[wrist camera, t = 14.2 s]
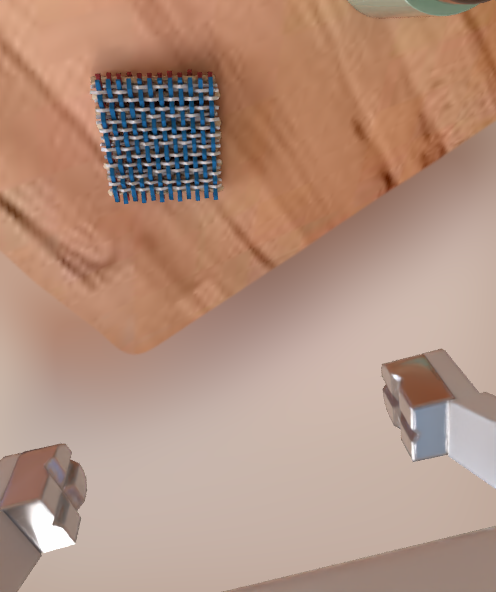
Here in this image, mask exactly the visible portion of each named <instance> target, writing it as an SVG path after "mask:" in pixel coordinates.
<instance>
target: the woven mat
mask: <svg viewBox="0 0 496 592" xmlns="http://www.w3.org/2000/svg"><path fill="white" fill-rule="evenodd" d="M106 75H107V77H101V75H100V74H95V76H96V77H91V84H92V85H91V89H92V88H96V89H97V91H90V94H92V100H94V101H95V102H98V104H99V107H96V108H95V111H96V119H101V121H96V124H97V127H98V129H99V131H100V132H101V133H103V137H101V140H104V142H105V143H101V146H106V148H101V151H106V153H107V155H106V156H104V158H105V159H108V162H109V163H104V168H105V169H107V170H109V171H107V172H108V173H110V174H107V179H108V181H112V183H109V186H112V189H110V190H109V191H108V193H109V195H110V196H112V195H114V198H115V202H120V196H119V194H123V198H124V204H128V201H129V200H130V199H129V194H132V197H133V201H138V195H137V194H141V195H142V203H146V200H147V197H146V193H151V199H152V201H154V200H156V196H155V194H159V195H160V202H164V199H165V196H164V194H167V193H169V199H170V200H174V199H173V192H178V201H182V192H186V193H187V199H191V191H195V195H196V201H199V200H200V194H199V191H204V195H205V198H209V192H213V197H214V200H218V192H219V191H223V188H224V187H223V185H222V183H221V184H217V181H222V179H221V178H217V177H219V174H221V171H218V169H220V165H222V160H221V159H218V158H216V155H220V154H221V153H220V151H219V152H217V151H218V147H219V148H220V147H221V144H215V142H219V139H221V131H215V129H220V125H221V123H222V122H221V120H220V119H219V117H218V118H214V116H215V115H217V114H218V113H217V112H216V109H219V106H216V104H214V100H218V99H219V98H220V92H218V91H219V89H218V88H213V87H217V84H214V83H215V75H212V72H208V75H202V72H198V75H196V76H192V70H187V76H182V73H177V75H178V76H172V71H167V76H162V73H157V76H152V74H151V73H147V76H142V74H141V73H137V76H135V77H132V73H131V72H127V76H128V77H121V73H119V74H116V76H117V77H111V73H106ZM193 87H198V89H195V88H193ZM203 87H208V88H207V89H203ZM103 88H106V90H103ZM157 88H158V91H159V92H157V91H156V89H157ZM163 88H165V89H166V90H167V91H165V92H164V89H163ZM113 89H117V90H118V91H117V90H113ZM123 89H127V90H123ZM184 100H186V101H189V105H186V106H184ZM194 100H199V105H194ZM204 100H209V104H204ZM137 101H139V103H140V106H135V102H137ZM145 101H148V102H150V106H145ZM155 101H159V103H160V106H155ZM165 101H170V105H165ZM174 101H179V103H180V106H177V105H174ZM106 102H109V106H106ZM115 102H119V105H120V107H116V106H115ZM125 102H129V104H130V107H126V104H125ZM207 112H208V113H207ZM194 113H196V114H194ZM149 114H151V115H149ZM156 114H159V115H156ZM199 116H200V117H199ZM204 116H209V117H210V118H206V117H204ZM160 117H161V119H157V118H160ZM166 117H170V118H166ZM177 117H181V118H177ZM185 117H190V118H185ZM195 117H196V118H195ZM128 118H131V119H132V120H128ZM137 118H141V119H138V120H137ZM147 118H152V119H147ZM108 119H112V121H109V120H108ZM117 119H121V120H117ZM189 129H191V132H186V130H189ZM196 129H199V130H201V132H196ZM207 129H210V131H207V132H205V130H207ZM151 130H152V131H153V133H148V131H151ZM158 130H159V131H162V133H158ZM167 130H172V134H171V133H168V132H167ZM177 130H181V131H182V133H179V134H177ZM120 131H121V132H123V135H120ZM129 131H133V134H129ZM138 131H143V134H139V132H138ZM110 132H113V134H114V136H113V135H110ZM187 140H189V141H187ZM159 141H164V142H159ZM144 142H145V143H144ZM196 143H201V145H198V144H196ZM206 143H211V144H209V145H206ZM159 144H160V145H159ZM178 144H181V145H178ZM122 145H125V147H122ZM131 145H135V146H133V147H131ZM140 145H142V146H140ZM150 145H154V146H150ZM112 146H115V147H114V148H112ZM201 155H202V158H197V156H201ZM207 155H210V156H211V157H212V158H207ZM164 156H165V160H162V159H161V158H160V157H164ZM180 156H184V159H179V157H180ZM188 156H193V158H188ZM143 157H146V160H142V158H143ZM152 157H155V158H156V160H152ZM170 157H174V158H175V159H173V160H170ZM114 158H116V159H118V162H115V160H114ZM123 158H127V161H123ZM133 158H137V160H133ZM183 166H184V167H185V168H184V169H180V167H183ZM189 166H193V167H194V169H192V168H189ZM198 166H203V167H201V168H198ZM207 166H212V167H207ZM174 167H175V169H171V168H174ZM128 168H129V170H126V169H128ZM134 168H138V169H134ZM144 168H148V169H144ZM152 168H157V170H155V169H152ZM162 168H166V169H163V170H162ZM202 170H203V171H202ZM144 172H148V173H144ZM208 177H212V178H210V179H208ZM202 178H203V179H202ZM163 179H167V181H165V180H163ZM172 179H176V180H172ZM181 179H185V180H181ZM190 179H191V180H190ZM117 180H121V182H117ZM126 180H130V181H131V182H126ZM154 180H156V181H154ZM194 181H195V184H190V182H194ZM199 181H200V182H204V183H202V184H199ZM211 181H213V185H212V184H209V183H208V182H211ZM175 182H177V185H172V183H175ZM181 182H182V183H186V184H181ZM156 183H158V186H155V185H154V184H156ZM164 183H165V184H168V185H167V186H164ZM127 184H128V185H131V186H127ZM137 184H140V186H136V185H137ZM145 184H149V186H145ZM118 185H121V186H119V187H118Z"/></svg>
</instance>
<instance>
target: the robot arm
mask: <svg viewBox="0 0 496 592" xmlns="http://www.w3.org/2000/svg"><path fill="white" fill-rule="evenodd" d="M381 371H382V377H383V379H384V381H385V383H386V385H385V386H384V388H383V395H384V401H385V405H386V409H387V411H388V414H389V416H390V418H391V420H392V422H393V424H394V426H396V427H398V428H399V429H401V440H402V442H403V444H404V446H405V448H406V449H407V451H408V453H409V455H410V457H411V459H412V461H413V462H415V461H420V460H424V459H429V458H434V457H438V456H443V455H448V454H449V457H451V458H452V459H453V460H455V461H456V462H458V463H459V464H460V465H462V466H463V467H465V468H466V469H468V470H469V471H471V472H472V473H473V474H475V475H476V476H478V477H479V478H481V479H482V480H484V481H485V482H486V483H488V484H489V485H491V486H492V487H494V488H495V489H496V396H494V395H492V394H489V393H487V392H483V393H479V392H478V391H477V389H476V388H475V387H474V386H473V384H472V383H471V382H470V381H469V380H468V378H467V377H466V376H465V375H464V373H463V372H462V371H461V370H460V368H459V367H458V366H457V365H456V364H455V362H454V361H453V360H452V358H451V357H450V356H449V355H448V354H447V352H446V351H445V350H443V349H438V350H434V351H431V352H427V353H423V354H421V355H420V354H419V355H416V356H412V357H408V358H404V359H400V360H396V361H392V362H388V363H384V364H382V367H381ZM71 454H72V452H71V450H70V449H69V447H68V446H67V445H66V444H57V445H53V446H48V447H44V448H39V449H34V450H30V451H25V452H23V453H18V454H14V455H9V456H5V457H3V458H2V459H1V460H0V592H17V591H18V590H19V588H20V587H21V585H22V584H23V582H24V581H25V579H26V578H27V576H28V575H29V574H30V572H31V571H32V569H33V567H34V566H35V565H36V563H37V562H38V560H39V559H40V557H41V553H45V552H48V551H52V550H56V549H59V548H63V547H67V546H70V545H74V544H75V543H76V539H77V534H78V530H79V525H80V521H81V517H80V516H79V514H78V512H77V510H78V509H79V508H80V506H81V505H82V504H83V503H84V501H85V497H86V492H87V484H86V476H85V473H84V470H83V469H82V467H81V465H80V464H79V463H77V462H75V461H73V460H70V458H71ZM223 592H496V526H493V527H489V528H485V529H481V530H476V531H472V532H468V533H464V534H460V535H456V536H452V537H447V538H444V539H439V540H435V541H431V542H427V543H423V544H418V545H414V546H410V547H406V548H402V549H398V550H394V551H389V552H385V553H381V554H377V555H373V556H369V557H364V558H360V559H356V560H352V561H348V562H344V563H340V564H335V565H332V566H327V567H323V568H319V569H315V570H311V571H306V572H303V573H298V574H294V575H290V576H286V577H282V578H278V579H273V580H269V581H265V582H261V583H257V584H253V585H249V586H245V587H240V588H236V589H232V590H228V591H223Z"/></svg>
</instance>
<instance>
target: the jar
mask: <svg viewBox="0 0 496 592" xmlns="http://www.w3.org/2000/svg"><path fill="white" fill-rule="evenodd" d="M347 1H348V2H349V3H350V4H351V5H352V6H353V7H354V8H355V9H356V10H358V11H359V12H360V13H362V14H364V15H366V16H369V17H373V18H379V19H385V18H409V17H432V16H449V15H455V14H459V13H462V12H465V11H467V10H469V9H471V8H473V7H475V6H477V5H478V4H480V3H484V2H487V1H490V0H347Z"/></svg>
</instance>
